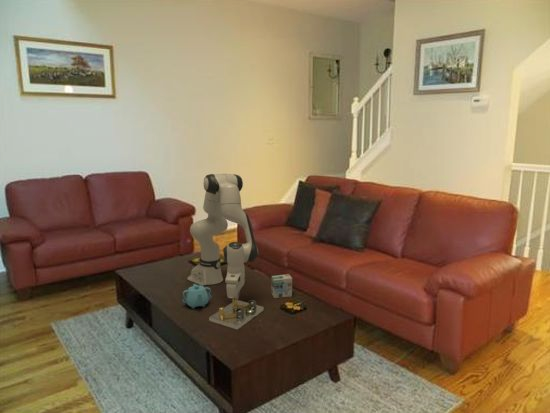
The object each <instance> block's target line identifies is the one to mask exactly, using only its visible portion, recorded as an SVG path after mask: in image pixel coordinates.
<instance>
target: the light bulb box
mask: <svg viewBox="0 0 550 413" xmlns="http://www.w3.org/2000/svg"><path fill="white" fill-rule="evenodd" d="M271 295H272V297H273V299H279V298H288V297H289V298H290V297H292V296H293V277H292V276H291V275H290V274H289V273H287V274H279V275H271Z"/></svg>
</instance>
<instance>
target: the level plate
mask: <svg viewBox="0 0 550 413" xmlns="http://www.w3.org/2000/svg"><path fill="white" fill-rule="evenodd" d="M245 304H248V302H246V301H242V300H240V299H238V305H245ZM264 308H265V306H261V305H258V304H256V308H254V309H250V308H246V309H244V316H243V317H241V318H238V317H232V318H226V319H223V320H220V319H219V310H218V311H216V312H215V313H214V314H212V315H210V316H209V318H208V321H209V322H210V323H211V322H212V323H215V324H218V325H221V326H224V327H228V328H230V329H234V330H237V331H238V330H240V328H242V327H243V326H244V325H246V324H247V323H249V322H250V321H251V320H252V319H254V318H256V317H257V316H259V314H261V313H262V312H264ZM230 313H236V311H234V310H233V305H232V302H231V303H229V304H228V305H226V306H225V307H224V314H230Z"/></svg>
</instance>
